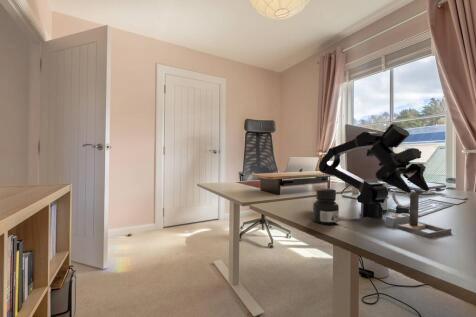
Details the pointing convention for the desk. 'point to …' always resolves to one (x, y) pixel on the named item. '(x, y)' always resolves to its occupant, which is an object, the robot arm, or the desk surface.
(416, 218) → the grey cylinder
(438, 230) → the open grey box
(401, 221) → the gauge cabinet
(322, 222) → the ink bottle
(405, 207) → the watch
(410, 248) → the desk surface
